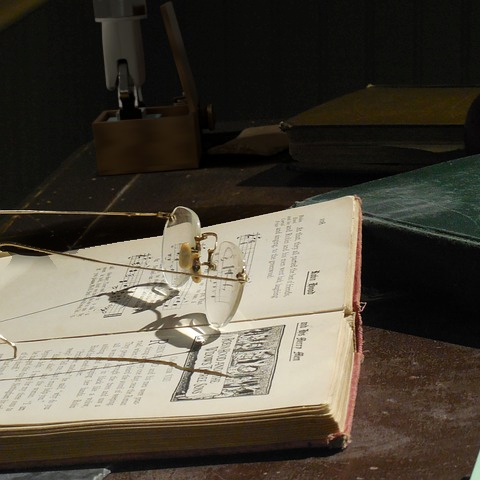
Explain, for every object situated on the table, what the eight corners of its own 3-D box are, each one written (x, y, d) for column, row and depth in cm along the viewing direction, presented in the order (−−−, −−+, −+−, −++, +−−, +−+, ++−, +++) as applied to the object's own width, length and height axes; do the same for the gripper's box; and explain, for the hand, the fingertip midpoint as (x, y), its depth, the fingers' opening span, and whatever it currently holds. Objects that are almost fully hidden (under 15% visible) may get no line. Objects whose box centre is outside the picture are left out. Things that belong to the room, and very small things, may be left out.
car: (107, 139, 141) (103, 114, 140) (111, 133, 146) (108, 109, 145) (161, 135, 142) (158, 110, 141) (163, 129, 146) (161, 105, 145)
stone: (309, 143, 153) (307, 123, 152) (252, 163, 140) (251, 141, 139) (253, 140, 158) (252, 121, 157) (194, 159, 146) (192, 138, 145)
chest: (99, 175, 139) (91, 123, 137) (109, 159, 150) (103, 110, 148) (198, 168, 140) (193, 115, 138) (202, 152, 151) (197, 103, 149)
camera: (212, 151, 152) (207, 101, 149) (170, 154, 152) (164, 104, 149) (220, 132, 167) (216, 87, 165) (182, 134, 167) (177, 89, 165)
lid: (159, 6, 133) (165, 5, 133) (166, 2, 144) (171, 1, 144) (190, 113, 138) (195, 111, 138) (194, 101, 149) (199, 100, 149)
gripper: (102, 8, 146) (117, 125, 152) (85, 15, 130) (102, 146, 135) (151, 5, 147) (164, 122, 152) (140, 11, 131) (155, 141, 136)
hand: (135, 132), depth 144 cm, fingers closed on car, 4 cm apart
